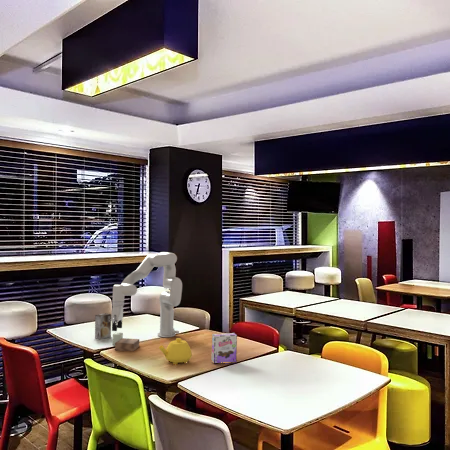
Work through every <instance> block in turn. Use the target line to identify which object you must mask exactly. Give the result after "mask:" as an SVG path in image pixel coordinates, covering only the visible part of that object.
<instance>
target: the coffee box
mask: <svg viewBox="0 0 450 450" xmlns="http://www.w3.org/2000/svg"><path fill="white" fill-rule="evenodd" d="M111 315H112V313H108V312H106V313H104V312H103V313H98V314H95V315H94V316H95V317H94V321H95V324H94V338H95V339H97V340H98V339H99V340H102V339H106V338H111V336H112V321H111Z"/></svg>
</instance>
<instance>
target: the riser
mask: <svg viewBox="0 0 450 450" xmlns="http://www.w3.org/2000/svg"><path fill="white" fill-rule="evenodd" d="M139 347H140V338H127V337H126V338H125V337H124V338H121V339H120V340H118V341H117V342H116V343H115V345H114V351H121V352H123V351H126V352H134V351H136V350H137V349H138V348H139Z"/></svg>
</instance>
